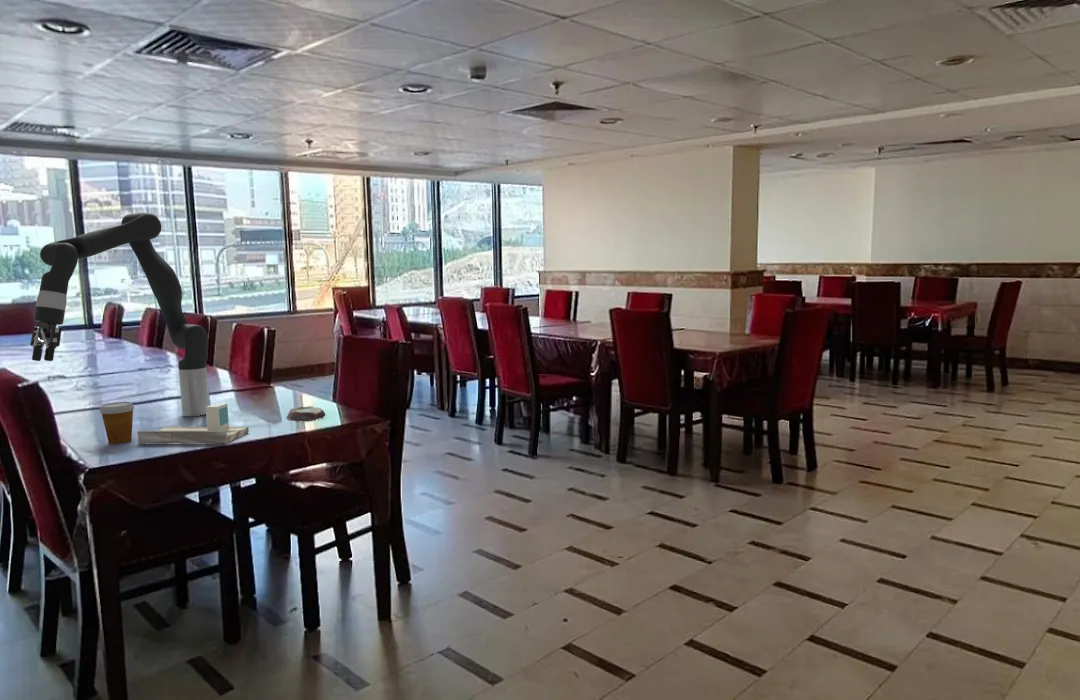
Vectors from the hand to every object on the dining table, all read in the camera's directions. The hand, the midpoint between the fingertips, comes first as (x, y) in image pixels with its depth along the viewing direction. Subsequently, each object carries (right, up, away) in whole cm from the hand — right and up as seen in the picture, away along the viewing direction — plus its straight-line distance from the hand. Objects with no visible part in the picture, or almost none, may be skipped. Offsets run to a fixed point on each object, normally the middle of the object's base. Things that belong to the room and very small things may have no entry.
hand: (42, 360), depth 223 cm
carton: (+46, -22, +15) cm, 54 cm away
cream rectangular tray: (+40, -25, +13) cm, 49 cm away
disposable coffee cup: (+18, -26, +10) cm, 33 cm away
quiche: (+65, -22, +42) cm, 81 cm away
